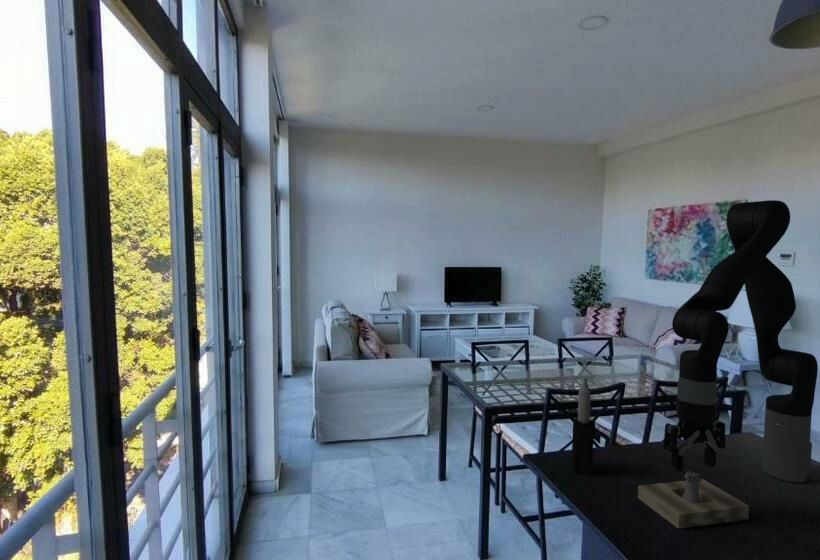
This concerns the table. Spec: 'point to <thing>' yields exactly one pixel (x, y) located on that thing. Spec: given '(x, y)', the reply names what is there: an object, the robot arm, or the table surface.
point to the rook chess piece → (692, 488)
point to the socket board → (684, 514)
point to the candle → (583, 434)
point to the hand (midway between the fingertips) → (693, 467)
